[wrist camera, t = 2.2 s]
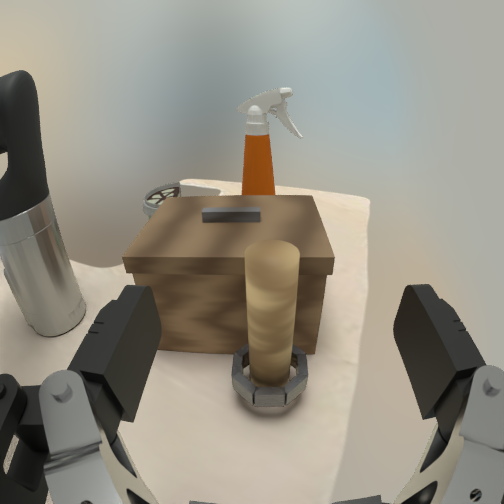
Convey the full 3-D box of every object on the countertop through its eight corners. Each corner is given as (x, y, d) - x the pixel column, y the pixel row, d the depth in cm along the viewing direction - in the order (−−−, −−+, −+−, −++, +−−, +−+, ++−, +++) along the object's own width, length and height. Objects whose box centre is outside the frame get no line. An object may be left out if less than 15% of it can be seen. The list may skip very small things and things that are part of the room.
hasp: (231, 405, 24) (222, 347, 20) (238, 338, 32) (233, 276, 27) (307, 405, 24) (319, 347, 20) (301, 338, 31) (307, 276, 27)
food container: (155, 232, 59) (147, 184, 54) (185, 229, 60) (179, 181, 55) (146, 266, 48) (134, 210, 43) (182, 263, 49) (174, 205, 44)
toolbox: (151, 351, 33) (119, 245, 26) (179, 277, 46) (165, 189, 38) (318, 356, 32) (336, 244, 25) (305, 278, 45) (312, 186, 38)
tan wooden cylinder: (250, 406, 27) (242, 268, 19) (251, 377, 30) (246, 239, 22) (287, 406, 27) (302, 268, 19) (286, 377, 30) (297, 239, 22)
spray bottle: (290, 259, 49) (294, 87, 36) (231, 246, 54) (223, 88, 40) (304, 240, 55) (309, 88, 41) (250, 229, 59) (246, 87, 45)
